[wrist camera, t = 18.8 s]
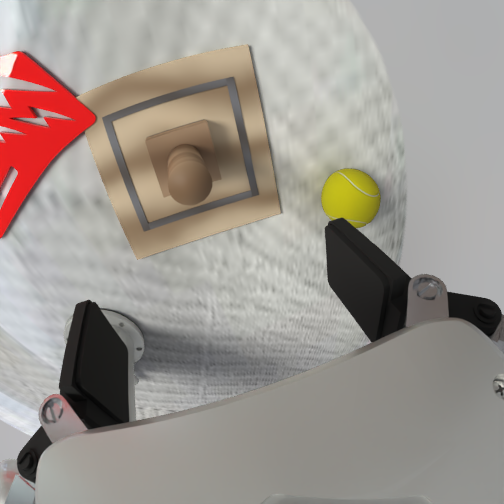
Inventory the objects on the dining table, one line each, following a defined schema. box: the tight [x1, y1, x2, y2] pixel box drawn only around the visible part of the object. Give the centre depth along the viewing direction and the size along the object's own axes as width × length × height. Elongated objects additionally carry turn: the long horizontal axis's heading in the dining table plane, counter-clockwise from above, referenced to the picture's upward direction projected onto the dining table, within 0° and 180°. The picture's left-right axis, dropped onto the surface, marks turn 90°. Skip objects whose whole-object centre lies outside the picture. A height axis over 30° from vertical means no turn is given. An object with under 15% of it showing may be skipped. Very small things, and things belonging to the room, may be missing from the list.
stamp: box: [145, 119, 222, 205], centre depth 25 cm, size 6×6×10 cm
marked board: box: [75, 44, 281, 260], centre depth 29 cm, size 20×18×1 cm
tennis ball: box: [321, 169, 381, 228], centre depth 33 cm, size 7×7×7 cm
